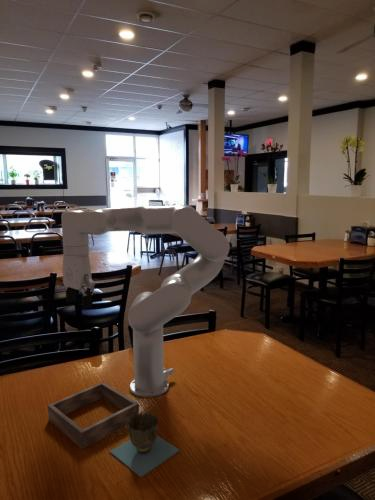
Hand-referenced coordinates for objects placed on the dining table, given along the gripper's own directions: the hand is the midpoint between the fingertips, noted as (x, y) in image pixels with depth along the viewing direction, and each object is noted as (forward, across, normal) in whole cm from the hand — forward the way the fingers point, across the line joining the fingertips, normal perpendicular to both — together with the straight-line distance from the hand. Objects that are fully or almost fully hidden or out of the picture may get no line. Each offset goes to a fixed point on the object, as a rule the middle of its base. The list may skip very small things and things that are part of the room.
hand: (79, 304), depth 120 cm
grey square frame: (+28, +17, -7) cm, 34 cm away
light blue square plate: (+28, +38, -6) cm, 48 cm away
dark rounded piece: (+28, +38, -6) cm, 47 cm away
